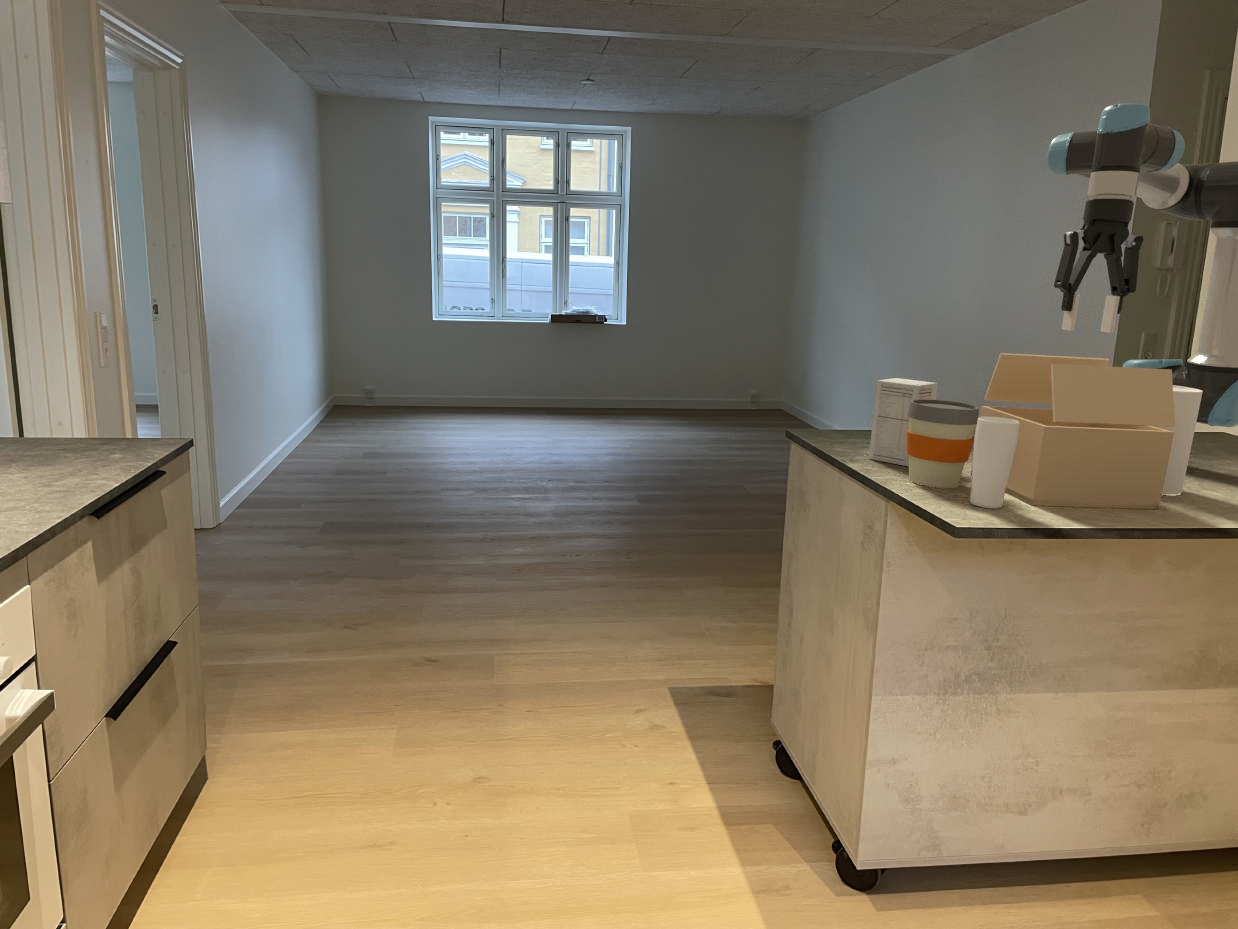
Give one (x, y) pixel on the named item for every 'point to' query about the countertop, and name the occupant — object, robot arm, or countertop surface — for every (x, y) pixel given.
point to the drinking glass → (992, 460)
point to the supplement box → (895, 417)
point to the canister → (1181, 436)
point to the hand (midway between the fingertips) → (1087, 330)
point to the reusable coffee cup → (939, 441)
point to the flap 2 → (1112, 395)
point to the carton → (1085, 461)
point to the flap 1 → (1029, 376)
